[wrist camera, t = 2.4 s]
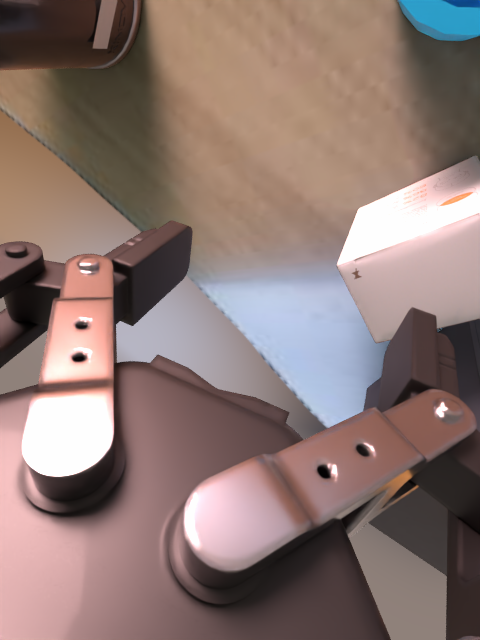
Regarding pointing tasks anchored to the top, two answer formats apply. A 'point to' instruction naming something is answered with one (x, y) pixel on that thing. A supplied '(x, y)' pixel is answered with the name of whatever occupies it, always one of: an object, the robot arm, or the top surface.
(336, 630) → the robot arm
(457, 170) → the small box
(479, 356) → the cover
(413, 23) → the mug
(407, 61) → the top surface
